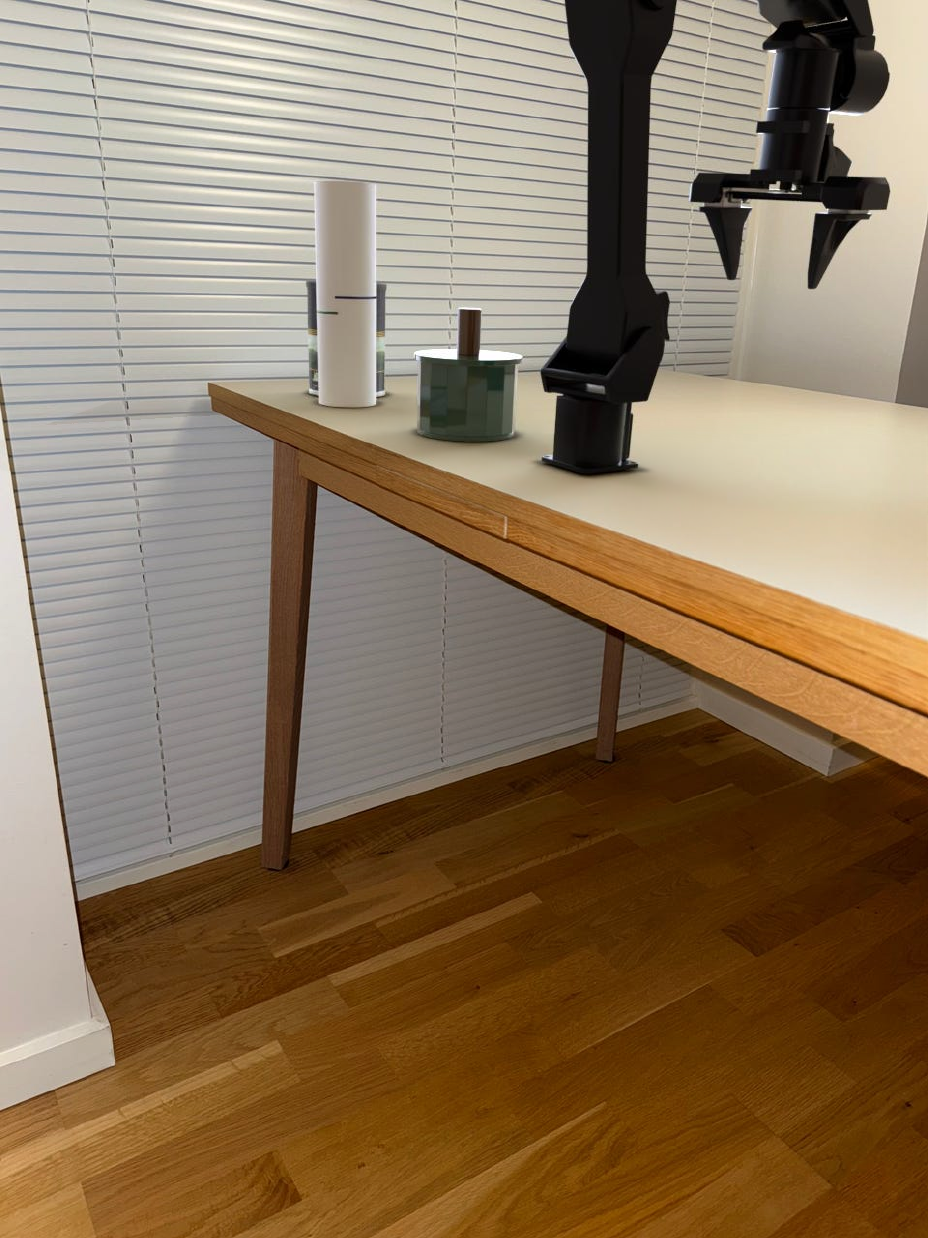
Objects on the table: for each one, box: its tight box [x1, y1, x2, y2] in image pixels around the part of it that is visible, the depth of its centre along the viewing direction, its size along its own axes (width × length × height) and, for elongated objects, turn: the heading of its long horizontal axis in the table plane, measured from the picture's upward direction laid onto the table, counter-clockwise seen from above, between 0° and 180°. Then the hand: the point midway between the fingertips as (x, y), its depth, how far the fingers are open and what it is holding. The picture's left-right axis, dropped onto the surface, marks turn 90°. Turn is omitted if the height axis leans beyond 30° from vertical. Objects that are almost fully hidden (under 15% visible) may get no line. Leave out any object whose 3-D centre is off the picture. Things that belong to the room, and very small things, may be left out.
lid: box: [413, 307, 523, 366], centre depth 95 cm, size 11×11×6 cm
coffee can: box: [305, 280, 388, 398], centre depth 122 cm, size 10×10×14 cm
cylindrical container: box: [313, 180, 377, 408], centre depth 112 cm, size 7×7×25 cm
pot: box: [416, 361, 519, 443], centre depth 98 cm, size 10×10×8 cm
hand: (770, 284), depth 95 cm, fingers open, 9 cm apart
